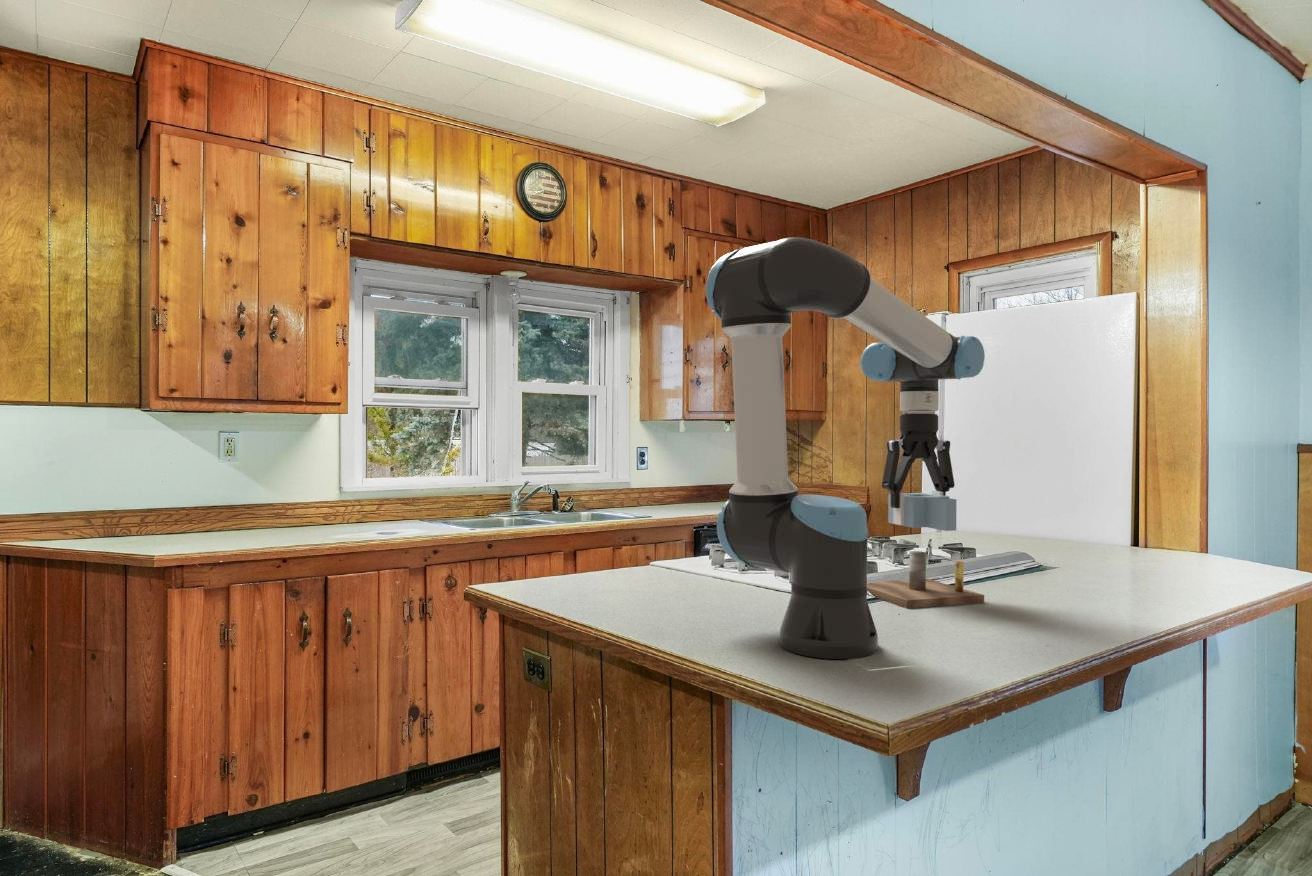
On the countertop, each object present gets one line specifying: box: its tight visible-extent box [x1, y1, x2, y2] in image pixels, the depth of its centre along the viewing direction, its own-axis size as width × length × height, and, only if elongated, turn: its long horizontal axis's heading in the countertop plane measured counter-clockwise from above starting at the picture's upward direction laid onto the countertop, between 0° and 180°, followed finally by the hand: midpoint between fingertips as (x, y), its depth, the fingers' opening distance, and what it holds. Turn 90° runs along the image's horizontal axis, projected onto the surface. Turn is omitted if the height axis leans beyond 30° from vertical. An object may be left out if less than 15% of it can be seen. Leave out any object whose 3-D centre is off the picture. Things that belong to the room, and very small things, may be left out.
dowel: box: [954, 560, 965, 592], centre depth 163 cm, size 2×2×6 cm
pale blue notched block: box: [887, 492, 958, 532], centre depth 162 cm, size 14×8×6 cm, turn 18°
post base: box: [867, 550, 985, 609], centre depth 165 cm, size 18×18×9 cm
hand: (918, 523), depth 165 cm, fingers closed on pale blue notched block, 8 cm apart
